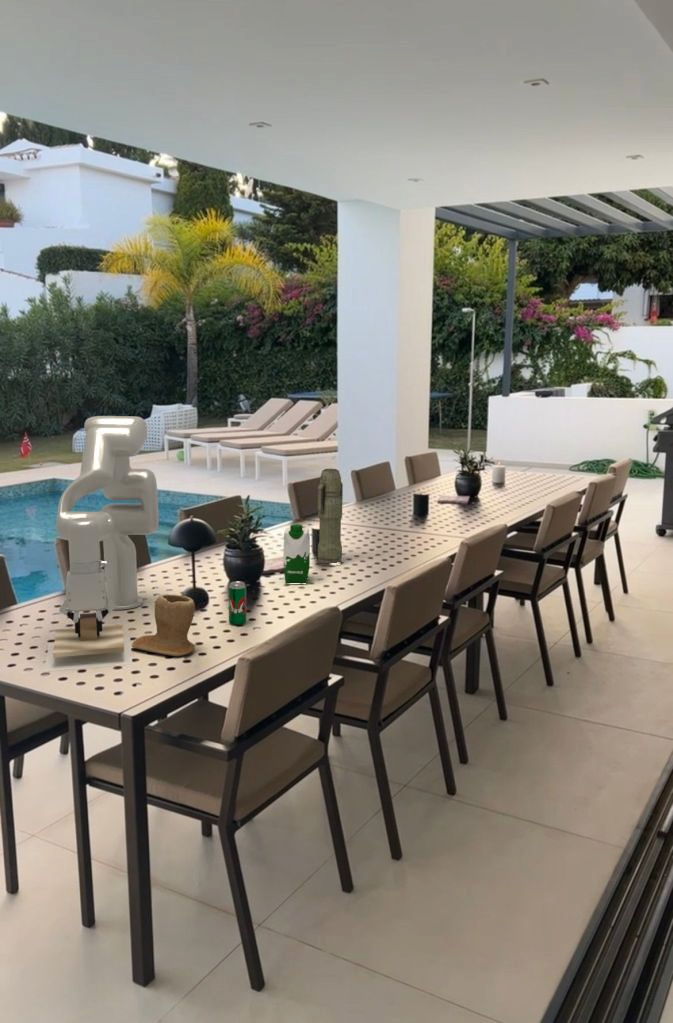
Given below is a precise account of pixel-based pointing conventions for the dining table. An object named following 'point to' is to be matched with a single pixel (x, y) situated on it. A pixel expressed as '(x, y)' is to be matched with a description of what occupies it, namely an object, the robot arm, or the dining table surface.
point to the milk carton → (296, 554)
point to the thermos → (330, 516)
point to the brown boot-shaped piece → (170, 627)
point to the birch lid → (88, 639)
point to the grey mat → (88, 659)
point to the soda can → (237, 603)
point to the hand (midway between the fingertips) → (89, 634)
